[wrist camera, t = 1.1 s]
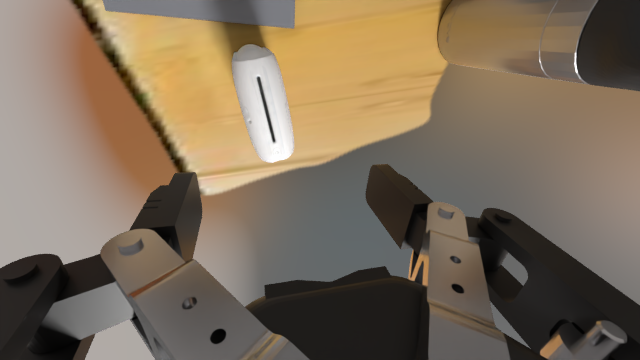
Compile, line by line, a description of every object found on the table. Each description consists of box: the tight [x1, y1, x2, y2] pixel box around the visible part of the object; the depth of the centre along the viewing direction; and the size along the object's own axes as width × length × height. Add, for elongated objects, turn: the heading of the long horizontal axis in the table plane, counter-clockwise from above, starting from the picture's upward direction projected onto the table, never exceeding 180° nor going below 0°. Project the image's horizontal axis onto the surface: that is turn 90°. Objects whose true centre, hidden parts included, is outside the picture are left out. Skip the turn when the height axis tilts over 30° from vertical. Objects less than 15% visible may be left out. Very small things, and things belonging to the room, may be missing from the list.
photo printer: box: [232, 44, 294, 163], centre depth 27 cm, size 10×4×12 cm, turn 8°
